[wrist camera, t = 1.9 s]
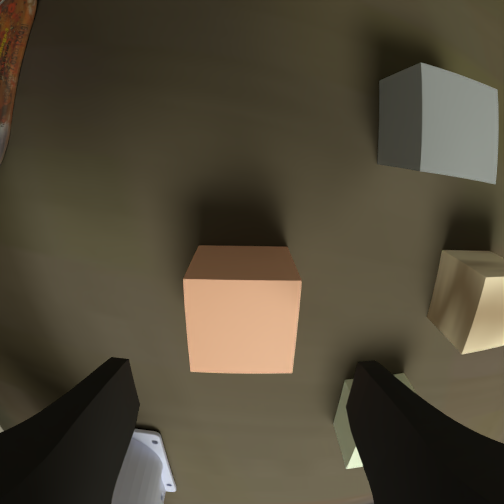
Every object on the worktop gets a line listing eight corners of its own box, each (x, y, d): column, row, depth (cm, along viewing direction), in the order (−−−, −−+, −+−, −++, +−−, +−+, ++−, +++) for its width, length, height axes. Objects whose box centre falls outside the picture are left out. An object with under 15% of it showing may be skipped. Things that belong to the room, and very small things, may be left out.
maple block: (474, 311, 18) (510, 343, 14) (426, 316, 18) (461, 354, 14) (489, 250, 17) (533, 275, 13) (441, 249, 17) (486, 277, 12)
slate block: (444, 173, 15) (495, 184, 11) (376, 164, 15) (420, 171, 11) (446, 97, 14) (497, 89, 10) (378, 81, 14) (421, 62, 10)
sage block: (387, 415, 21) (406, 457, 17) (333, 422, 21) (346, 469, 16) (403, 372, 19) (429, 414, 15) (344, 378, 19) (363, 427, 15)
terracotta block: (282, 322, 18) (292, 372, 14) (201, 321, 18) (190, 371, 13) (287, 246, 16) (301, 280, 12) (198, 244, 16) (183, 278, 12)
